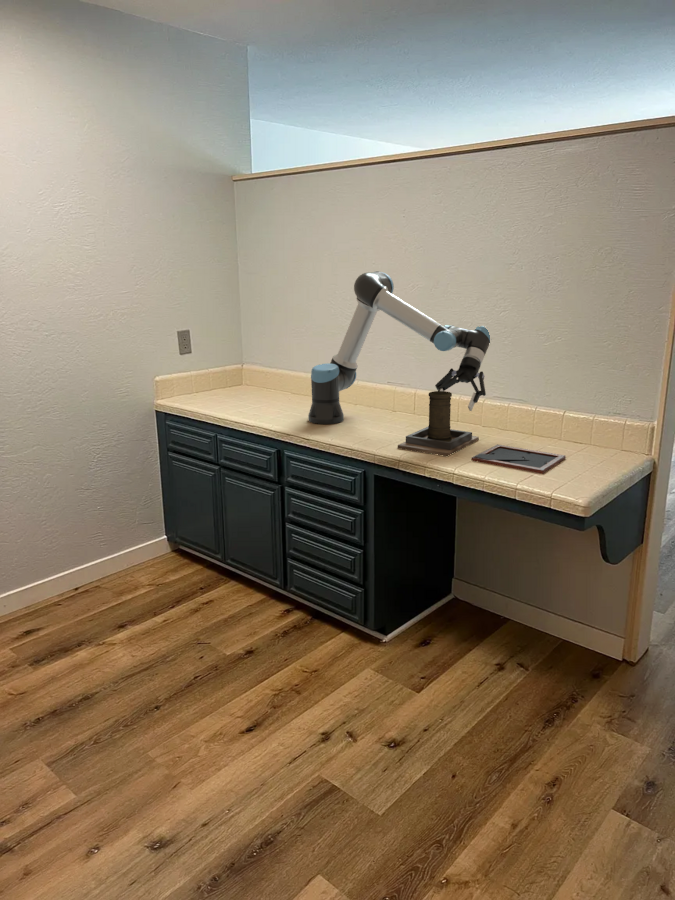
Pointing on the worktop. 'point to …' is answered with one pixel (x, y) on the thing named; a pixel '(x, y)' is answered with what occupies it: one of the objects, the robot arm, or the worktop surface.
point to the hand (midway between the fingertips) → (452, 406)
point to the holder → (438, 442)
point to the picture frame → (519, 458)
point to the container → (439, 416)
